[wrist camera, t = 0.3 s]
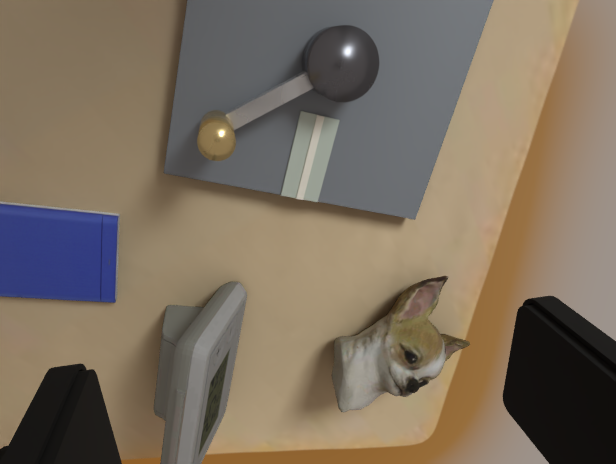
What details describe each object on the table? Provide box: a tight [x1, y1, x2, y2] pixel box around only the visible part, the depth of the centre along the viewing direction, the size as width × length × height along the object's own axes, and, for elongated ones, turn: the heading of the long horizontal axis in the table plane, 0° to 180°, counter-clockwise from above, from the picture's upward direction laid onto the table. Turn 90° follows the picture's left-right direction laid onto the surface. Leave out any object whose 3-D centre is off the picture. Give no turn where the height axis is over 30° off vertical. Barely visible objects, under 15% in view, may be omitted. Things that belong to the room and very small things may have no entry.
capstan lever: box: [197, 25, 379, 161], centre depth 31 cm, size 14×5×6 cm, turn 116°
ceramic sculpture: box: [332, 276, 470, 412], centre depth 43 cm, size 11×9×15 cm
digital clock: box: [154, 282, 247, 464], centre depth 38 cm, size 16×9×11 cm, turn 156°
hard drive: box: [0, 201, 120, 303], centre depth 36 cm, size 2×8×12 cm
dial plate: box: [164, 0, 493, 219], centre depth 34 cm, size 22×22×2 cm
